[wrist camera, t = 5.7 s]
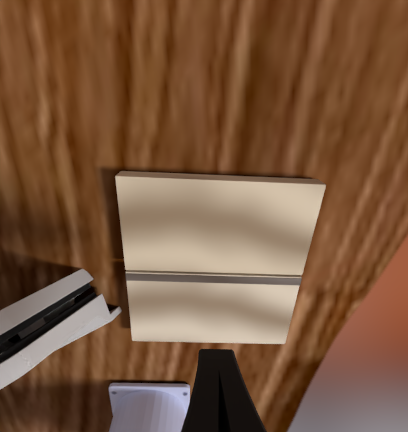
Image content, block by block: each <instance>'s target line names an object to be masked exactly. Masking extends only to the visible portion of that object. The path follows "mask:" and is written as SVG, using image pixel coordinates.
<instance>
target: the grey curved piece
mask: <svg viewBox="0 0 408 432" xmlns="http://www.w3.org/2000/svg"><path fill="white" fill-rule="evenodd" d="M92 280H93V278H92V277H91V276H90V274H89V273H88V272H87V271H85V270H84V269H80V270H78V271H76V272H74V273H73V274H71V275H69V276H67V277H65V278H63V279H61V280H59V281H57V282H55V283H53V284H51V285H49V286H47V287H45V288H43V289H41V290H39V291H37V292H35V293H33V294H31V295H29V296H27V297H25V298H24V299H22V300H20V301H18V302H16V303H14V304H12V305H10V306H8V307H6V308H4V309H2V310H0V389H2V388H4V387H5V386H7V385H8V384H10V383H12V382H13V381H15V380H16V379H18V378H20V377H21V376H23V375H24V374H25V373H27V372H28V371H29V370H31V369H32V368H33V367H35V366H36V365H37V364H38V363H40V362H41V361H42V360H43V359H45V358H46V357H47V356H48V355H50V354H51V353H52V352H53V351H55V350H57V349H59V348H61V347H63V346H65V345H67V344H69V343H71V342H72V341H74V340H76V339H78V338H80V337H82V336H84V335H86V334H88V333H90V332H92V331H94V330H95V329H97V328H99V327H101V326H103V325H105V324H107V323H109V322H111V321H112V320H113V319H114V318H115V317H116V316H117V315H118V314H119V313H120V312H121V311H122V310H121V308H120V307H117V308H115V309H113V310H111V311H109V310H108V308H107V305H106V302H105V300H104V297H103V295H102V294H100V295H99V296H96V294H95V292H93V293H92V294H90V295H88V296H86V297H85V298H83V299H81V300H79V301H78V302H76V303H75V302H74V298H75V297H76V296H78V295H79V294H81V293H82V292H84V291H86V290H87V289H89V288H90V287H91V286H90V284H89V282H90V281H92ZM16 334H18V335H19V336H20V338H21V339H20V340H19V341H17V342H16V343H12V342H10V341H8V339H10V338H11V337H13V336H14V335H16Z"/></svg>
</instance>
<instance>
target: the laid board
mask: <svg viewBox="0 0 408 432" xmlns="http://www.w3.org/2000/svg"><path fill="white" fill-rule="evenodd" d="M126 281H127V291H128V302H129V312H130V322H131V333H132V341H163V342H212V343H261V344H285V342H286V338H287V334H288V330H289V326H290V322H291V318H292V313H293V309H294V305H295V301H296V297H297V293H298V289H299V285H300V283H301V276H300V275H282V274H248V273H214V272H180V271H146V270H126Z"/></svg>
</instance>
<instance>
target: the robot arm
mask: <svg viewBox="0 0 408 432" xmlns="http://www.w3.org/2000/svg"><path fill="white" fill-rule="evenodd" d="M109 395H110V401H111V407H112V413H113V419H112V422H111V426H110V429H109V432H267V431H266V429H265V427H264V425H263V423H262V421H261V419H260V417H259V415H258V413H257V411H256V408H255V406H254V404H253V402H252V399H251V397H250V395H249V393H248V390H247V388H246V385H245V383H244V380H243V378H242V375H241V372H240V370H239V367H238V364H237V361H236V358H235V354H234V351H233V350H227V349H201V350H200V351H199V357H198V367H197V373H196V378H195V383H194V387H193V391H192V395H191V399H190V386H189V385H188V384H167V383H111V384H110V385H109ZM189 402H190V403H189Z"/></svg>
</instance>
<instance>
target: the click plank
mask: <svg viewBox="0 0 408 432" xmlns="http://www.w3.org/2000/svg"><path fill="white" fill-rule="evenodd" d="M115 179H116V188H117V197H118V207H119V216H120V225H121V234H122V243H123V253H124V262H125V270H146V271H180V272H214V273H248V274H282V275H302V273H303V270H304V266H305V262H306V258H307V255H308V251H309V247H310V243H311V240H312V236H313V232H314V228H315V225H316V221H317V217H318V213H319V210H320V206H321V202H322V198H323V195H324V191H325V187H326V184H324V183H323V182H321V181H320V180H318V179H302V178H278V177H254V176H230V175H206V174H182V173H158V172H134V171H120V172H119V173H118V174H117V175H116V176H115Z"/></svg>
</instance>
